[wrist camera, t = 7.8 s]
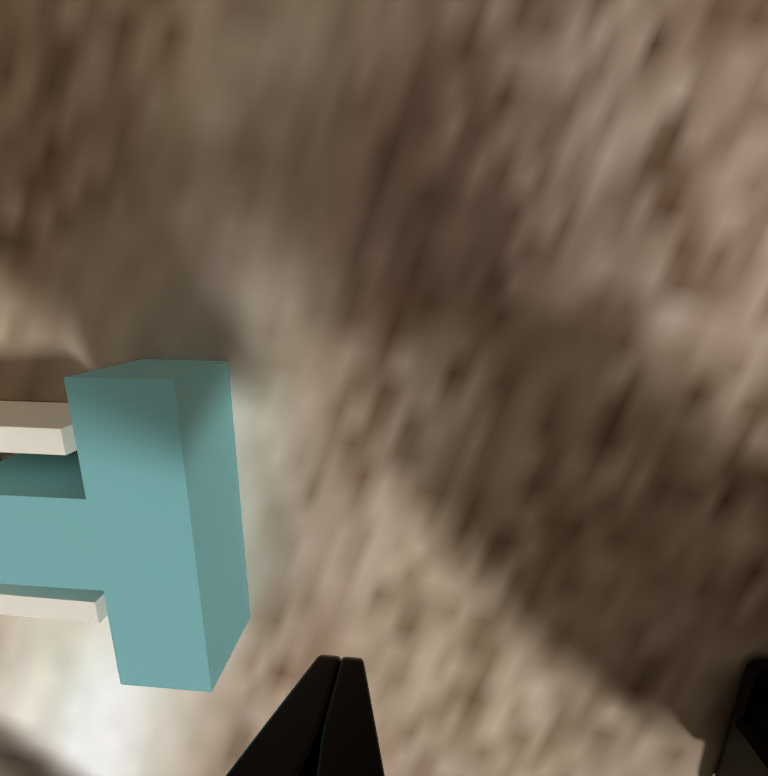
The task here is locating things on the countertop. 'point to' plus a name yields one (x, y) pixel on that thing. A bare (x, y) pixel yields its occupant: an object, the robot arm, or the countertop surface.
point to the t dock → (54, 437)
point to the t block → (140, 517)
